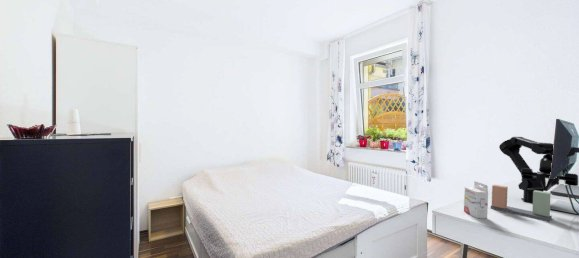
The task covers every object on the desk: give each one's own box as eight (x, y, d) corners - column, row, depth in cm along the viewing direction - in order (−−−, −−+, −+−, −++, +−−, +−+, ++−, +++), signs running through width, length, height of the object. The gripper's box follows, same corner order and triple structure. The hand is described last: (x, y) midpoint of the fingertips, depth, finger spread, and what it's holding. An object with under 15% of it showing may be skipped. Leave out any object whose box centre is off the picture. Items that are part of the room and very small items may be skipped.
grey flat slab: (494, 205, 125) (494, 203, 125) (551, 218, 109) (551, 215, 109) (490, 208, 121) (490, 205, 121) (549, 221, 105) (549, 218, 105)
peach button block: (494, 204, 123) (494, 184, 123) (507, 206, 119) (508, 186, 118) (491, 205, 120) (492, 185, 120) (504, 208, 116) (505, 187, 116)
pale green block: (534, 211, 113) (535, 189, 113) (550, 214, 109) (550, 192, 109) (532, 213, 110) (533, 191, 110) (548, 216, 106) (549, 193, 106)
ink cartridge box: (463, 211, 116) (464, 180, 115) (473, 211, 116) (474, 180, 115) (476, 218, 107) (477, 185, 107) (488, 218, 107) (489, 185, 107)
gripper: (522, 152, 124) (516, 176, 118) (578, 156, 109) (575, 184, 103) (524, 166, 129) (519, 190, 123) (579, 172, 114) (576, 199, 108)
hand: (545, 190), depth 114 cm, fingers closed
